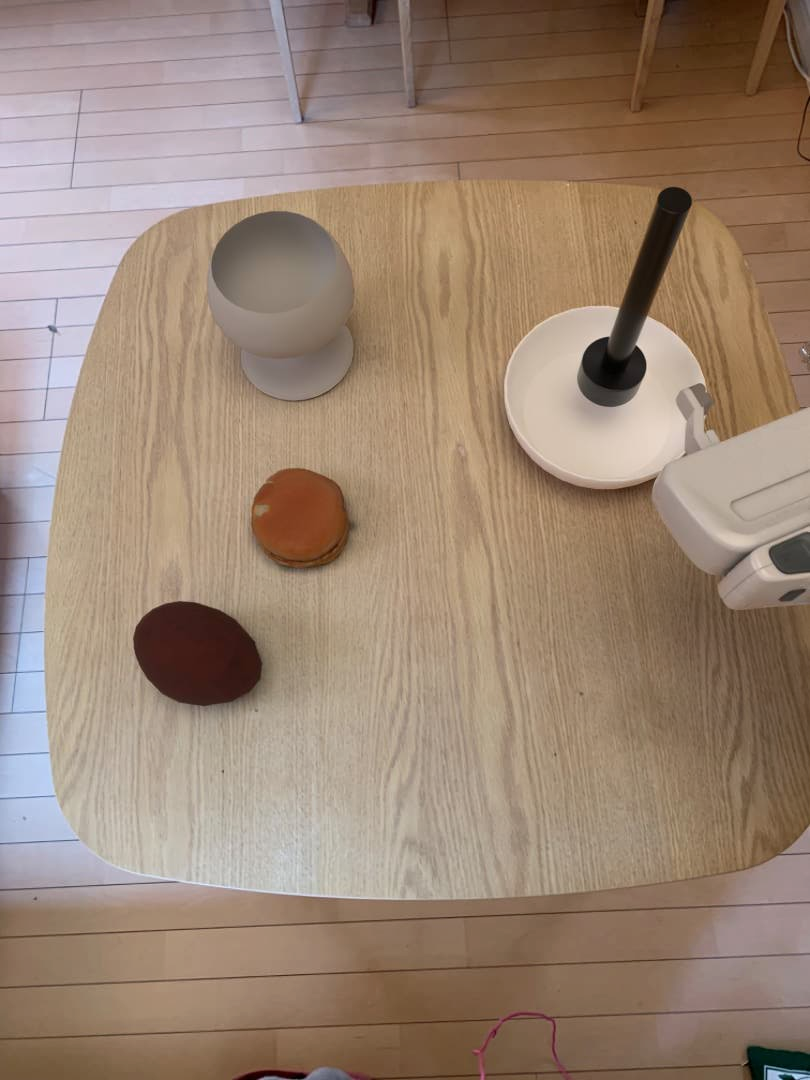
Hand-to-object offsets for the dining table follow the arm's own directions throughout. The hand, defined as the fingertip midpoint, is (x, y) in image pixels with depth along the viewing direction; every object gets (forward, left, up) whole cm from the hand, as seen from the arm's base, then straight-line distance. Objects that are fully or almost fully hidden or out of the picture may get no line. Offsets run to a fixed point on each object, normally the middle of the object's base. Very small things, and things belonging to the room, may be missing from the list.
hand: (749, 366), depth 57 cm
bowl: (+9, -9, -28) cm, 31 cm away
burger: (+32, +13, -28) cm, 44 cm away
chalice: (+41, -5, -28) cm, 50 cm away
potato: (+34, +29, -28) cm, 53 cm away
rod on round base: (+9, -10, -22) cm, 25 cm away
